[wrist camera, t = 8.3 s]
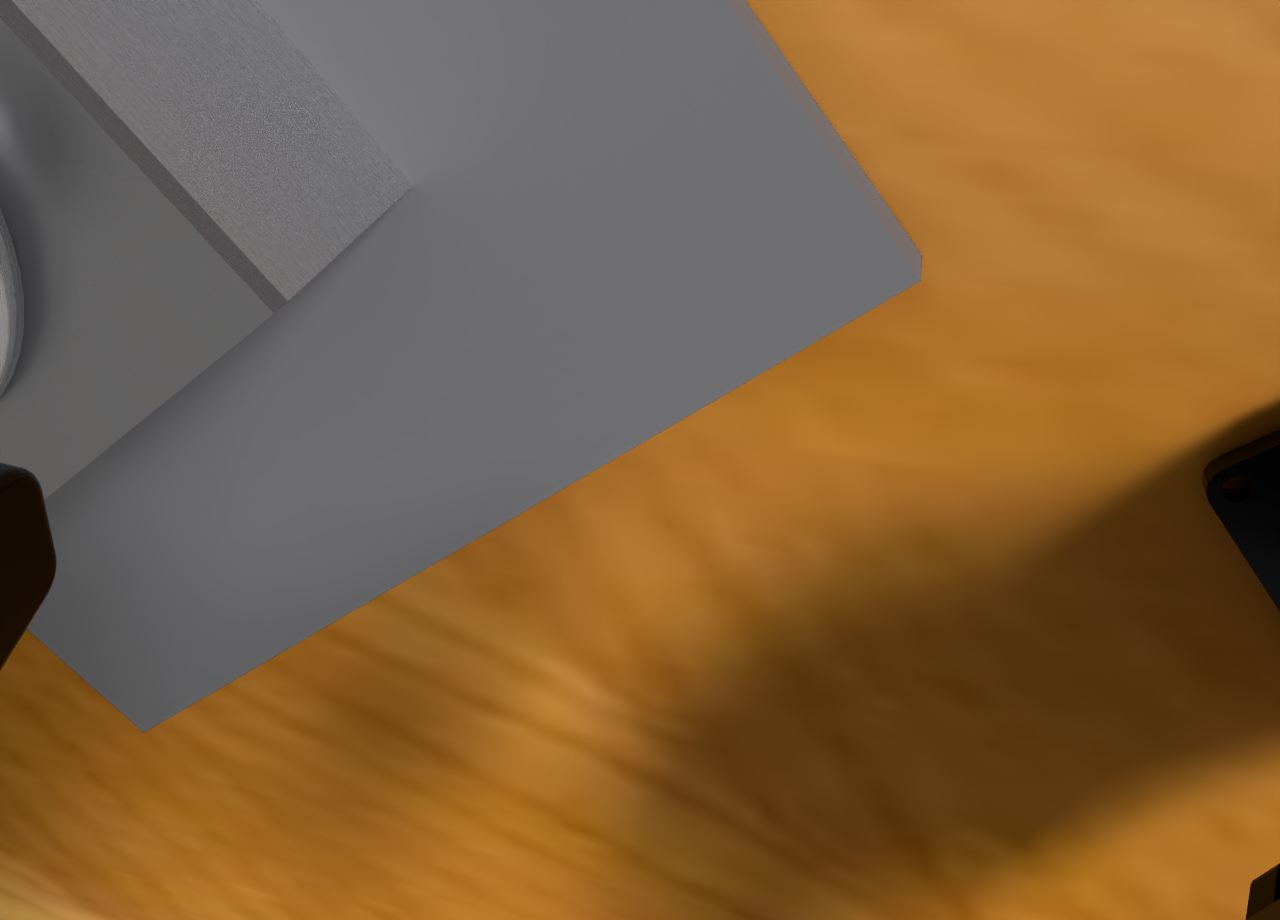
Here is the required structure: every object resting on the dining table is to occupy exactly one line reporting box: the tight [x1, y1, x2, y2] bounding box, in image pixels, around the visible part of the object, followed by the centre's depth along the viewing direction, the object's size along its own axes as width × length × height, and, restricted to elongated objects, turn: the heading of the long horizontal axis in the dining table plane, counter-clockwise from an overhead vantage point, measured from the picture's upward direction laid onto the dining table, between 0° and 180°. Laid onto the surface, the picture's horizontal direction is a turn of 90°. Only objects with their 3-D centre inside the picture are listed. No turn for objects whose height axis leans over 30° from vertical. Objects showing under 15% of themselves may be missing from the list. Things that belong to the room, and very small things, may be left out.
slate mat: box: [27, 0, 922, 732], centre depth 21 cm, size 22×22×1 cm
